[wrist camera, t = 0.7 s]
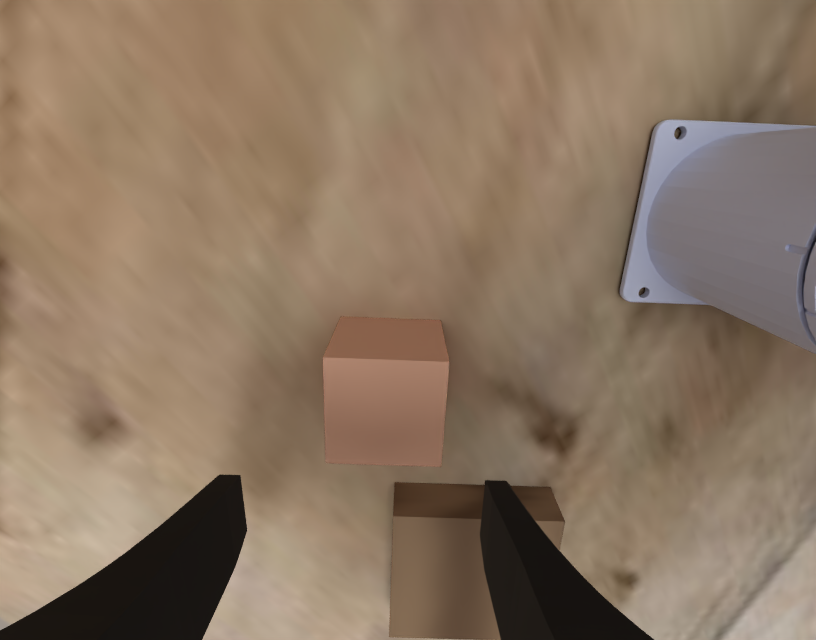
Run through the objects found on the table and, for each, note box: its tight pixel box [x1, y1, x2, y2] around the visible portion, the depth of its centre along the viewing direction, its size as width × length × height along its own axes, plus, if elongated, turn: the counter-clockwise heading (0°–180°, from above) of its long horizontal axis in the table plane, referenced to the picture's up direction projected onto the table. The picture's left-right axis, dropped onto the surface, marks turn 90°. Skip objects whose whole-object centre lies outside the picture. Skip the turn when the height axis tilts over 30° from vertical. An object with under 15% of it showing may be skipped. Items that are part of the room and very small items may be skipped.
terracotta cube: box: [323, 317, 449, 467], centre depth 21 cm, size 5×5×5 cm
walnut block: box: [389, 482, 565, 640], centre depth 26 cm, size 9×9×3 cm
